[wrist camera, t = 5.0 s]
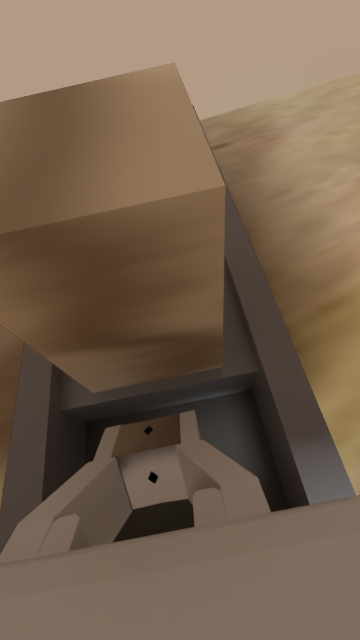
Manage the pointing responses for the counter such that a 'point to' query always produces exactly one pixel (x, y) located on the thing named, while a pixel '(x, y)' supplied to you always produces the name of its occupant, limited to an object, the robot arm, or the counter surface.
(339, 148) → the counter surface
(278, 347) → the box
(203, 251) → the block
